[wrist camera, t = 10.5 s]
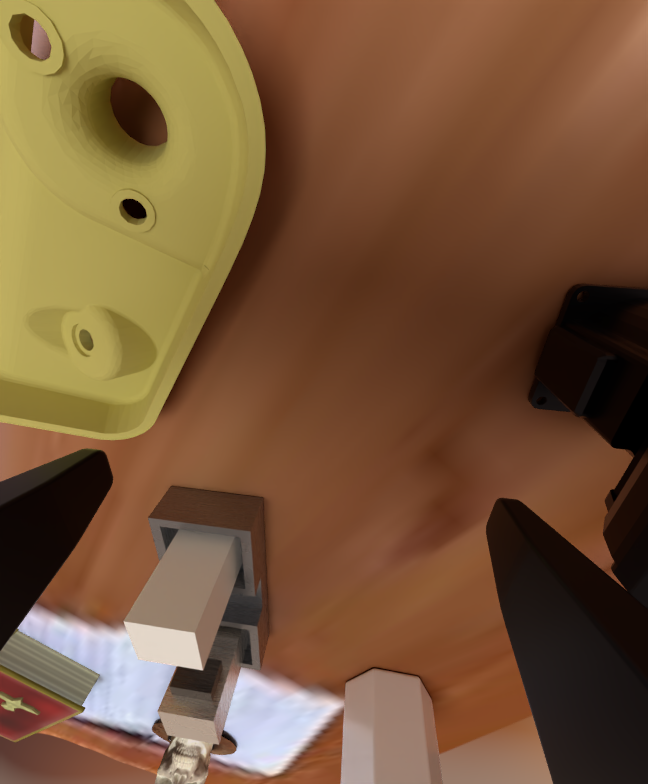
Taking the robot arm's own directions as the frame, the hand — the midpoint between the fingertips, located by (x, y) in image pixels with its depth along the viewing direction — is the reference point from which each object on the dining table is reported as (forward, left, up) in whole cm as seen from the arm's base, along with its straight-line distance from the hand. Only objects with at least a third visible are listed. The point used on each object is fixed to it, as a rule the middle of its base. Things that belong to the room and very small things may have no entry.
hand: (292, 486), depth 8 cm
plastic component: (+11, -3, -12) cm, 17 cm away
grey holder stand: (+8, +22, -12) cm, 26 cm away
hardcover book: (+37, +50, -13) cm, 63 cm away
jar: (-8, +38, -12) cm, 41 cm away
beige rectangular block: (+8, +17, -10) cm, 21 cm away
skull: (+16, +60, -12) cm, 63 cm away
